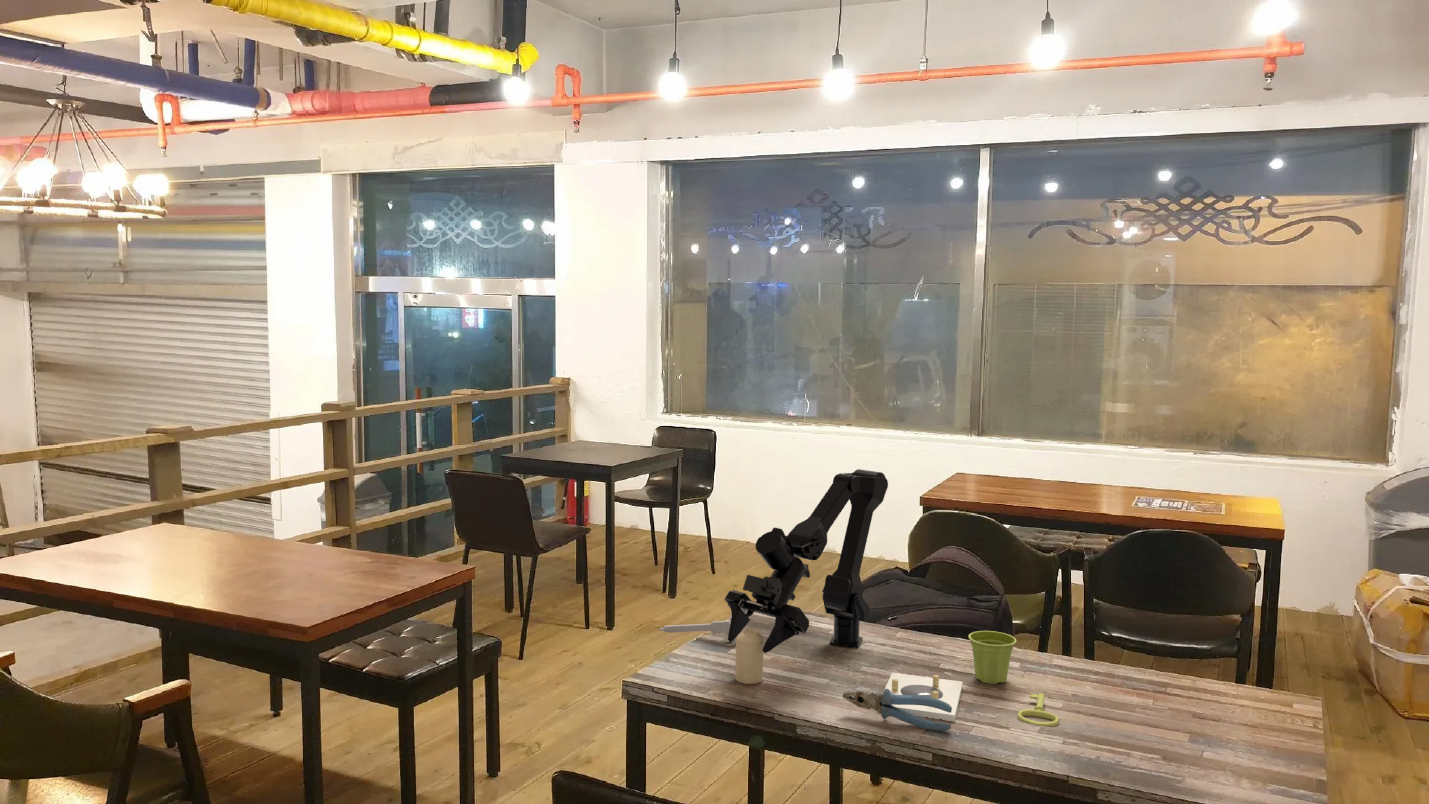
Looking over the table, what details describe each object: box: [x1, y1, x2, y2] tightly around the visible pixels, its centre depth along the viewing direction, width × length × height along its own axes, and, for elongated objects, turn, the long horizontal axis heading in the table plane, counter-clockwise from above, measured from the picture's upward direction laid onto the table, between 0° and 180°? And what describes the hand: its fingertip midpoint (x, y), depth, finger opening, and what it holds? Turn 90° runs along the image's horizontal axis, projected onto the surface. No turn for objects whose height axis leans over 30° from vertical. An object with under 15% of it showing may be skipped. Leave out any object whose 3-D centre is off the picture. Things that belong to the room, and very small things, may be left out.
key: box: [1016, 692, 1060, 727], centre depth 190 cm, size 7×12×2 cm, turn 177°
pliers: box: [842, 688, 952, 732], centre depth 184 cm, size 20×2×6 cm, turn 63°
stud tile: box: [884, 672, 964, 723], centre depth 195 cm, size 18×14×3 cm
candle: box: [734, 628, 765, 685], centre depth 204 cm, size 6×6×10 cm
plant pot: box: [968, 630, 1017, 685], centre depth 207 cm, size 9×9×9 cm
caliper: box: [658, 616, 743, 644], centre depth 230 cm, size 20×1×6 cm, turn 66°
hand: (746, 646), depth 203 cm, fingers open, 9 cm apart
